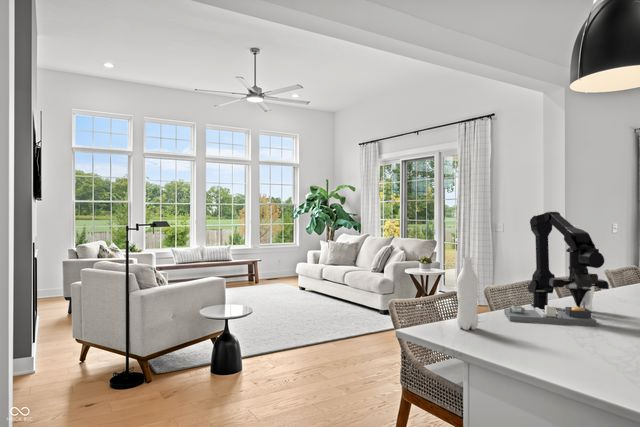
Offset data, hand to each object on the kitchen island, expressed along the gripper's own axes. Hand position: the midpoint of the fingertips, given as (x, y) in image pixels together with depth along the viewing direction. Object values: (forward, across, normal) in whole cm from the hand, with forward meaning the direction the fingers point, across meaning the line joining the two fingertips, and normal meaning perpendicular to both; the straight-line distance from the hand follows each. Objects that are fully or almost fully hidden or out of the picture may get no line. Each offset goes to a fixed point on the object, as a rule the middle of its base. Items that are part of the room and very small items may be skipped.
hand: (578, 306), depth 164 cm
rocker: (+2, -22, 0) cm, 22 cm away
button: (+3, 0, 0) cm, 3 cm away
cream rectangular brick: (+3, -11, -4) cm, 12 cm away
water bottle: (+6, -42, -21) cm, 47 cm away
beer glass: (+6, +8, +20) cm, 23 cm away
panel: (+6, -10, 0) cm, 12 cm away
